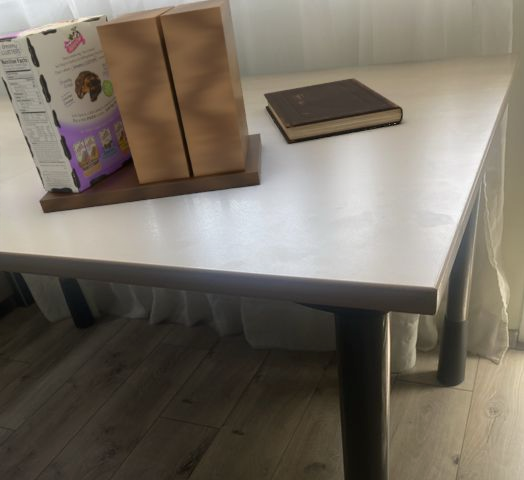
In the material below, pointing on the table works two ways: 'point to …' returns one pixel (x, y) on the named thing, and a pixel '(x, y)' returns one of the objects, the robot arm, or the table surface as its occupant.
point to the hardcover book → (330, 110)
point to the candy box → (65, 102)
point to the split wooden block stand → (174, 107)
